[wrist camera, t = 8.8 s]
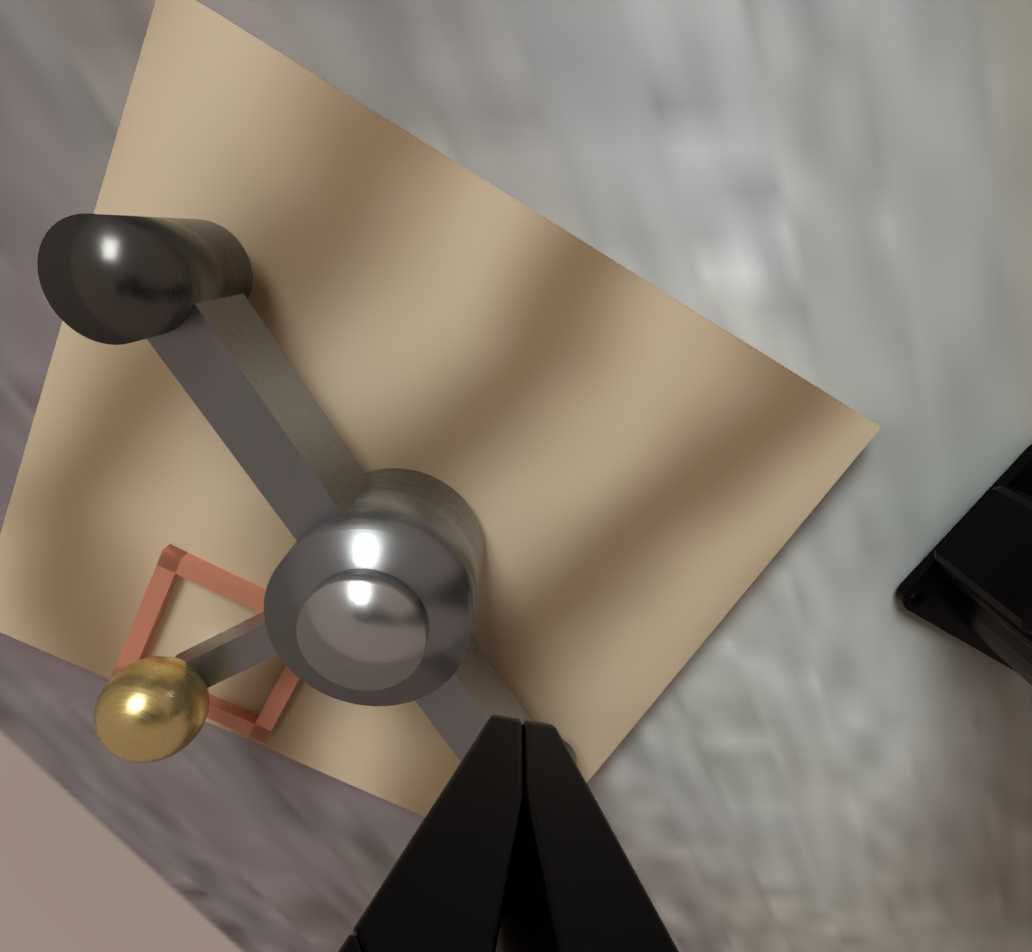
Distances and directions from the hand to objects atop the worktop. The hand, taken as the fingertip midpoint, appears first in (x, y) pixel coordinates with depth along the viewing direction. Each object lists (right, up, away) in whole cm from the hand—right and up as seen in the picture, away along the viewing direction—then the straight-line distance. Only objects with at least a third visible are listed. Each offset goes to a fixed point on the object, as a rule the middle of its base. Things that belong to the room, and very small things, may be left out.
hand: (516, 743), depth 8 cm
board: (-4, +2, +12) cm, 13 cm away
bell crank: (-6, 0, +11) cm, 13 cm away
